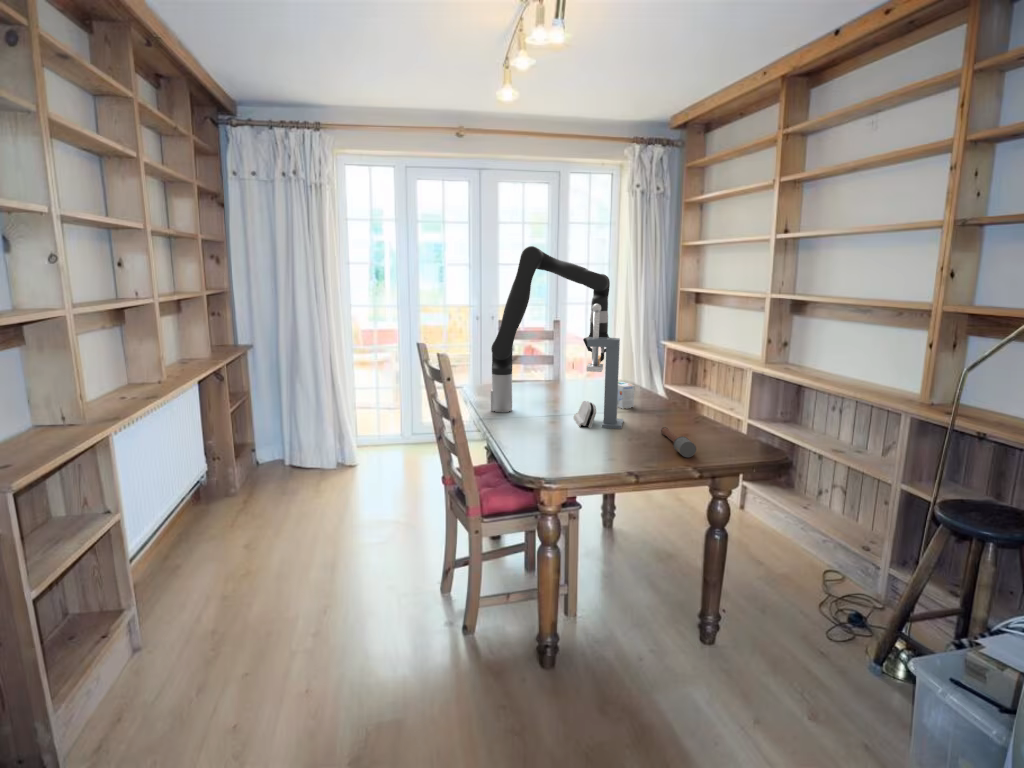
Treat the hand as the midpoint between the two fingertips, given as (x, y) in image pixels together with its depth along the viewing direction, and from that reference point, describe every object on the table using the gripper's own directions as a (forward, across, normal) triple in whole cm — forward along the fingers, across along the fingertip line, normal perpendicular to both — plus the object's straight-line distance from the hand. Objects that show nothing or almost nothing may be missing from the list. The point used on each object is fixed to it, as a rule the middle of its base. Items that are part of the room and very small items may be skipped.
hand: (597, 360), depth 254 cm
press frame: (+25, -5, +13) cm, 28 cm away
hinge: (+25, +4, +12) cm, 28 cm away
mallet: (+25, -32, +37) cm, 55 cm away
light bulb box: (+25, -10, -22) cm, 34 cm away
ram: (+2, 0, +8) cm, 8 cm away
